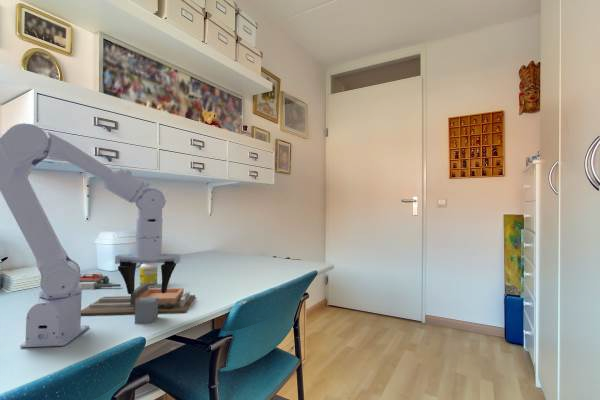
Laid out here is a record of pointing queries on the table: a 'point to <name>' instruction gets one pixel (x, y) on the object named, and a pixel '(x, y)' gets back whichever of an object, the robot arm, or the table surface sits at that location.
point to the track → (132, 306)
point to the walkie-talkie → (94, 281)
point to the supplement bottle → (148, 274)
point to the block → (146, 310)
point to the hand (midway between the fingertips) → (147, 292)
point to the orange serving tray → (157, 295)
